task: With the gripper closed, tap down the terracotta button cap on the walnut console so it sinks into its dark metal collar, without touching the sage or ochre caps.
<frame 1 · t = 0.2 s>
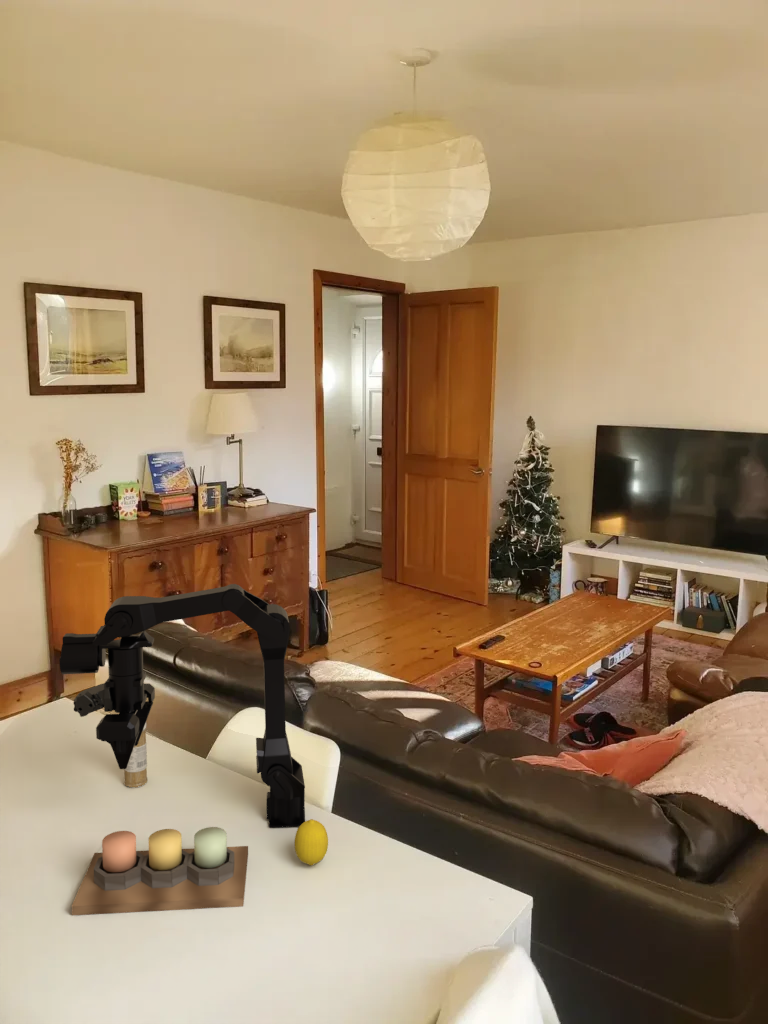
hand: (128, 756, 139), 14 cm above the table, fingers open, 9 cm apart
lemon: (311, 866, 131), on the table
console: (165, 882, 125), on the table
button terracotta: (119, 851, 124), point 6 cm above the table, slide at 0.0 cm
button ochre: (165, 849, 125), point 6 cm above the table, slide at 0.0 cm
button sage: (210, 847, 125), point 6 cm above the table, slide at 0.0 cm
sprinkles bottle: (135, 784, 158), on the table
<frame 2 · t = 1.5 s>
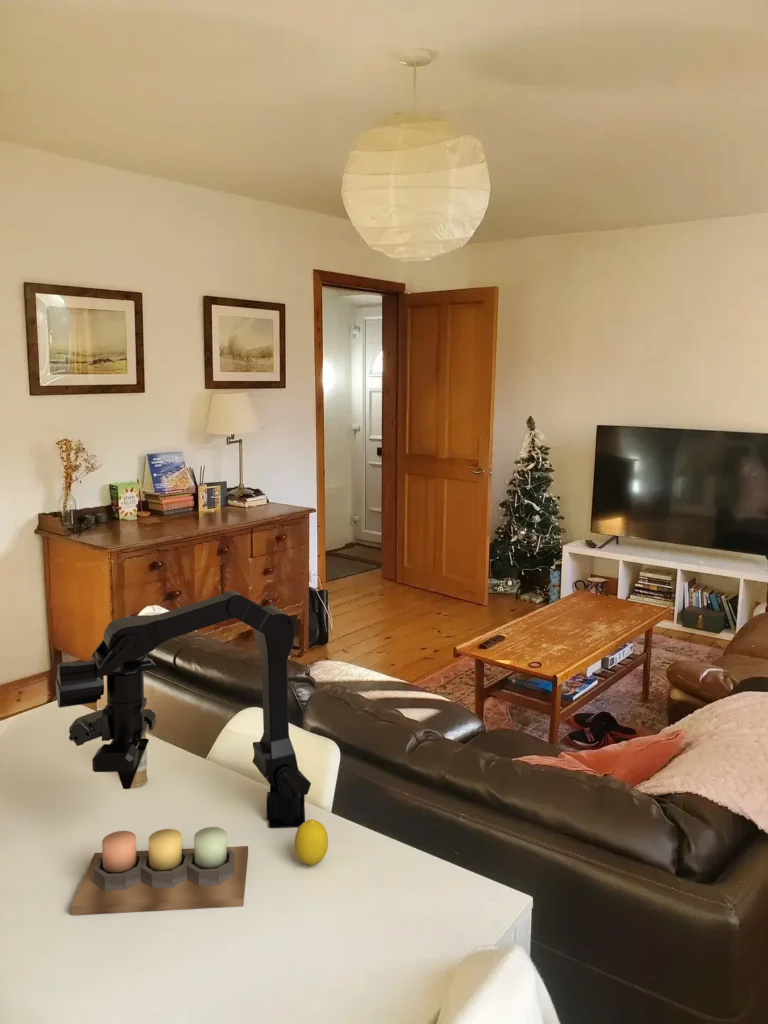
hand: (127, 788, 130), 12 cm above the table, fingers closed
nothing on the table moved.
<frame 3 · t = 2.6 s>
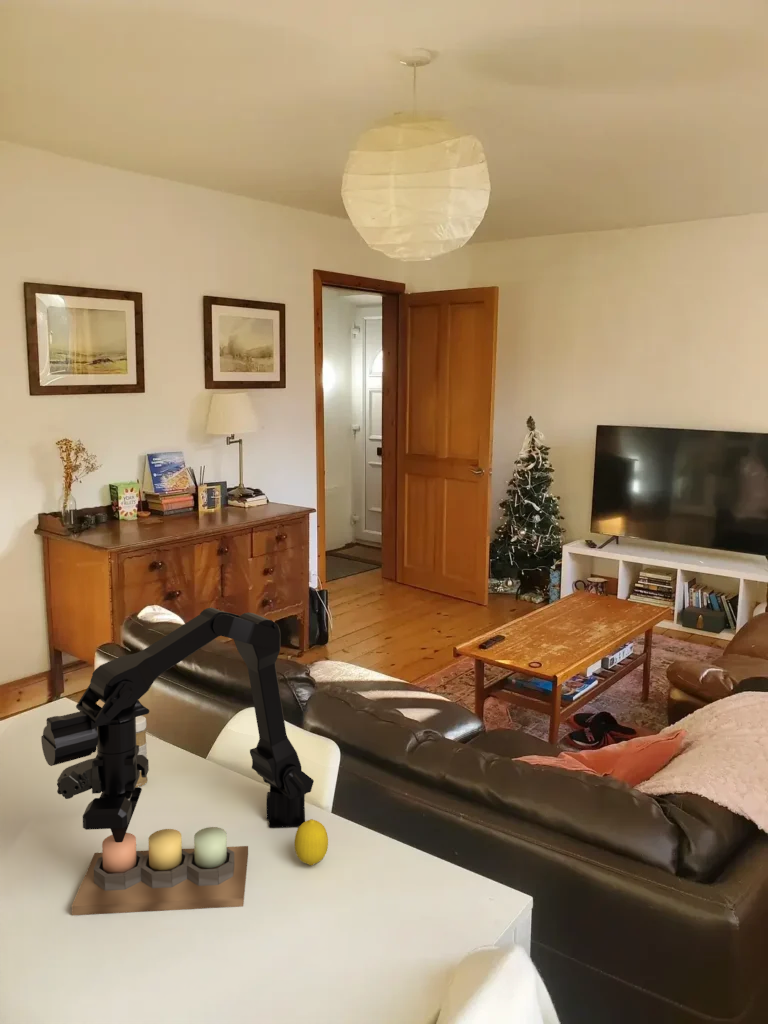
hand: (119, 841, 124), 7 cm above the table, fingers closed, pressing on button terracotta
button terracotta: (119, 853, 124), point 5 cm above the table, slide at 0.3 cm, touching gripper
everything else where it was.
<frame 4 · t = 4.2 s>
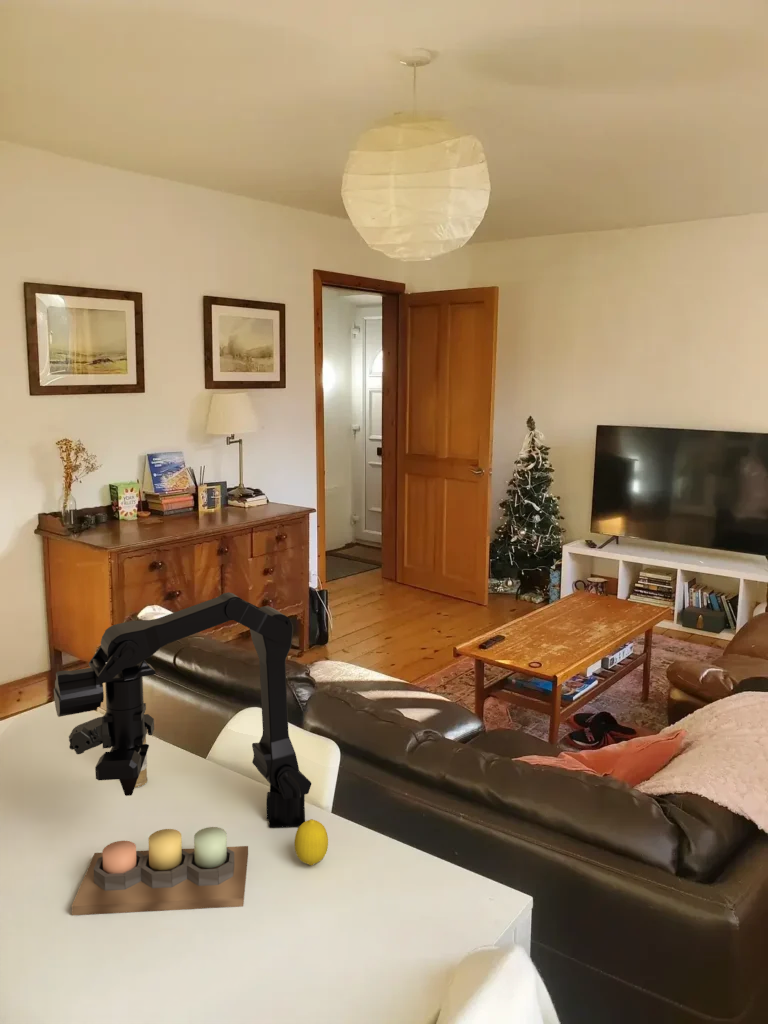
hand: (128, 794, 130), 12 cm above the table, fingers closed
button terracotta: (119, 861, 124), point 4 cm above the table, slide at 1.7 cm
everything else where it was.
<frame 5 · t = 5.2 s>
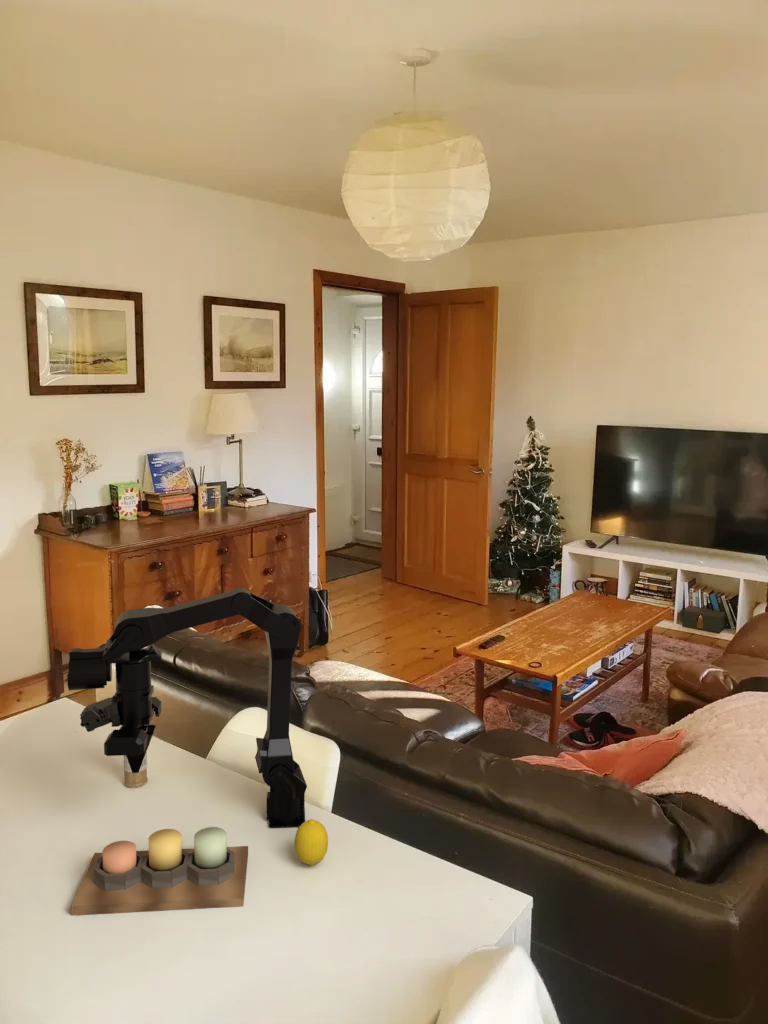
hand: (135, 771, 137), 12 cm above the table, fingers closed
nothing on the table moved.
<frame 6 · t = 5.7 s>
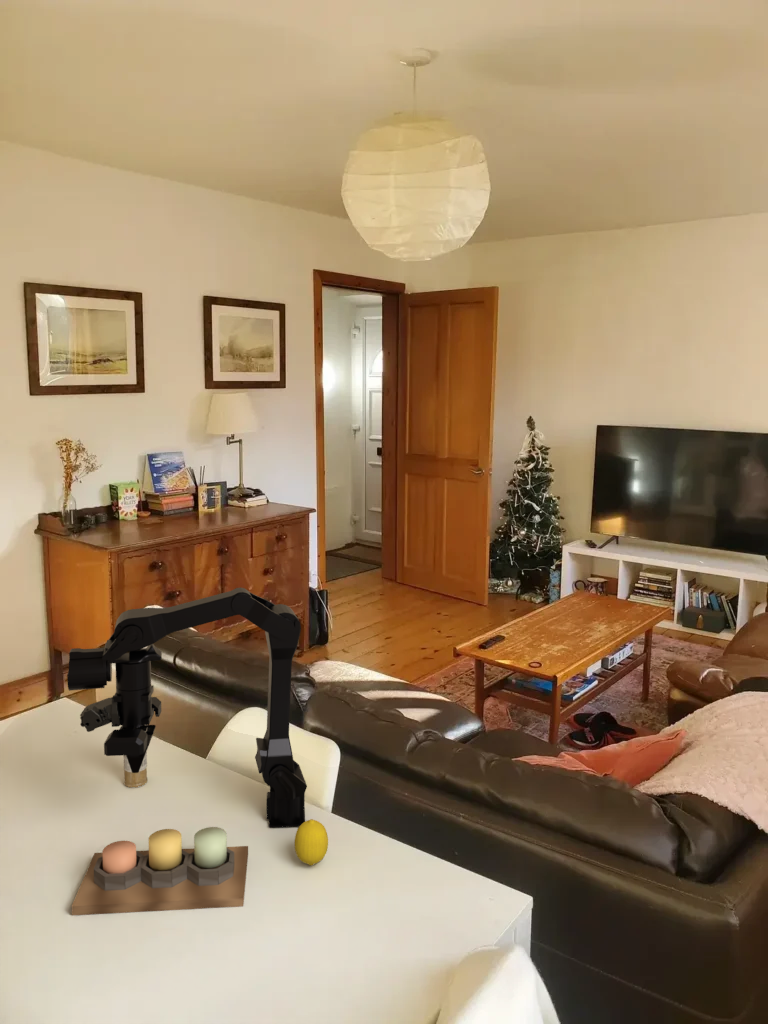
hand: (135, 771, 137), 12 cm above the table, fingers closed
nothing on the table moved.
at the end: button terracotta slide at 1.7 cm; button ochre slide at 0.0 cm; button sage slide at 0.0 cm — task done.
